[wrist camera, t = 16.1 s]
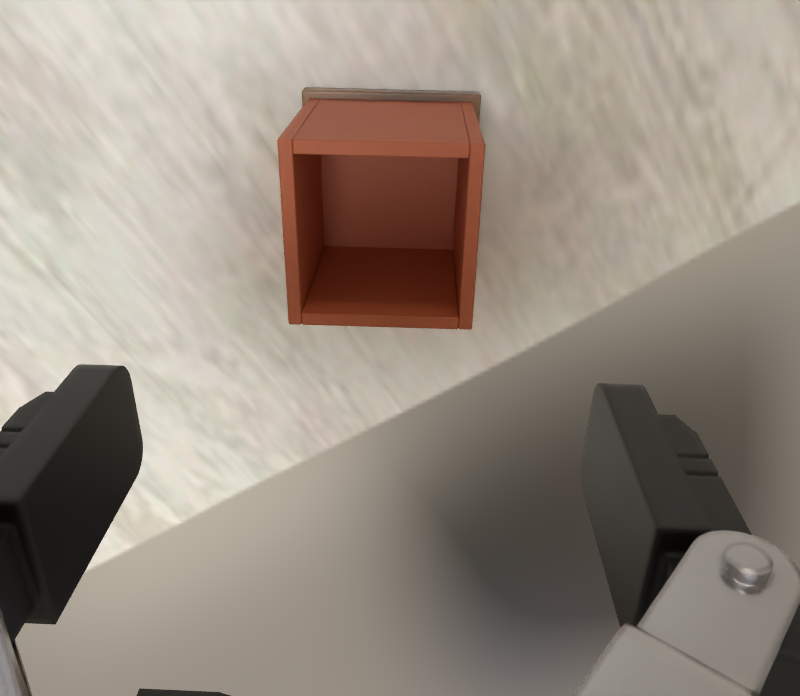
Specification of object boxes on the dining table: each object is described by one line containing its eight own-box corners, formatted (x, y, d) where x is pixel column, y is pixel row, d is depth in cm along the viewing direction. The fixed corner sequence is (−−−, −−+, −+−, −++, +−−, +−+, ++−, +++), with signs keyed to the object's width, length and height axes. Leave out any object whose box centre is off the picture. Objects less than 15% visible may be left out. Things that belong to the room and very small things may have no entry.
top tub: (472, 101, 25) (485, 144, 19) (463, 256, 27) (471, 330, 22) (308, 98, 25) (277, 138, 20) (314, 252, 27) (288, 324, 22)
